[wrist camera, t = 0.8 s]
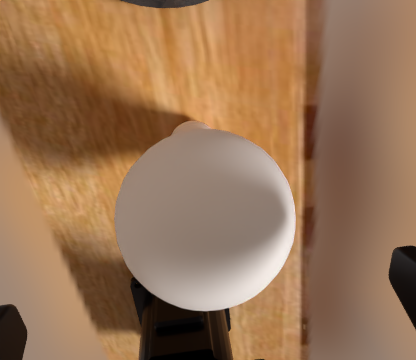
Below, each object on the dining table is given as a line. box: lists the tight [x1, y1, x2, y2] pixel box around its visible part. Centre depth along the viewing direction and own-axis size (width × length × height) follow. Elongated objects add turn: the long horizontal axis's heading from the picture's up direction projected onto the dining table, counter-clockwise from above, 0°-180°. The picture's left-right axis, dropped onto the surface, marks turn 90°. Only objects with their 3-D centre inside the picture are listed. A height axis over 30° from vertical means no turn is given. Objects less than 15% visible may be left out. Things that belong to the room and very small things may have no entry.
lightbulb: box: [114, 121, 296, 311], centre depth 14 cm, size 6×6×11 cm
